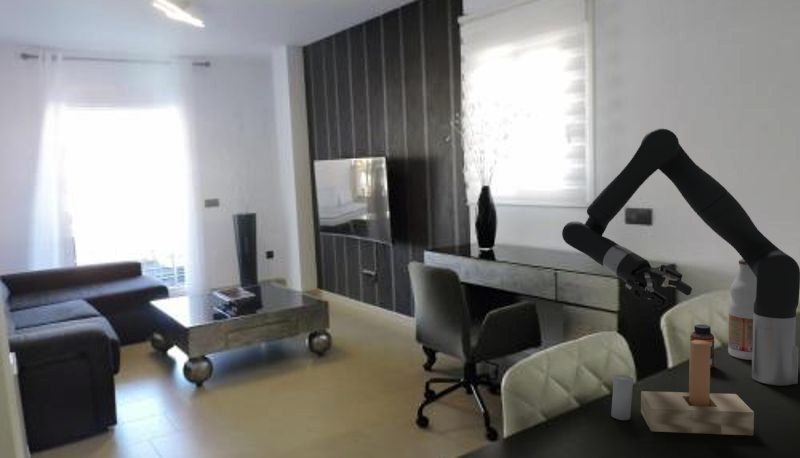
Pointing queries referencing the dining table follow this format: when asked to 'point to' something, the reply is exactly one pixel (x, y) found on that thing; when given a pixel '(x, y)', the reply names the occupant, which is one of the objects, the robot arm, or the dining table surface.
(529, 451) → the dining table surface
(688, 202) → the robot arm
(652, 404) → the wooden block with hole
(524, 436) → the dining table surface
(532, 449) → the dining table surface
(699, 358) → the long dowel
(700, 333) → the supplement bottle
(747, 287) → the white plastic bottle
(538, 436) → the dining table surface
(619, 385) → the short dowel
